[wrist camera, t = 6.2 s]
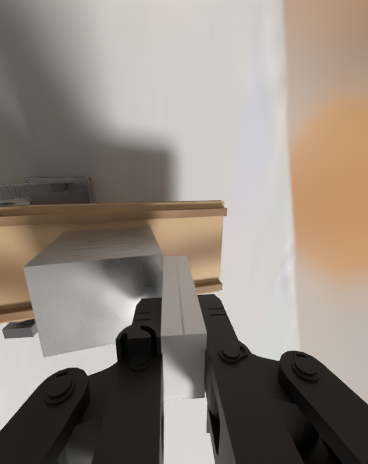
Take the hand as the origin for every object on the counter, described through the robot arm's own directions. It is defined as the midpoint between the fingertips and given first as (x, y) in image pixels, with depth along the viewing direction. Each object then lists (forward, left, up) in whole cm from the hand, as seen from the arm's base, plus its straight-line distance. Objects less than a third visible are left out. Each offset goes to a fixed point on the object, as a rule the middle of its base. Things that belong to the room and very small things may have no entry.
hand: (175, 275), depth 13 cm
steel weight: (0, -5, -3) cm, 6 cm away
